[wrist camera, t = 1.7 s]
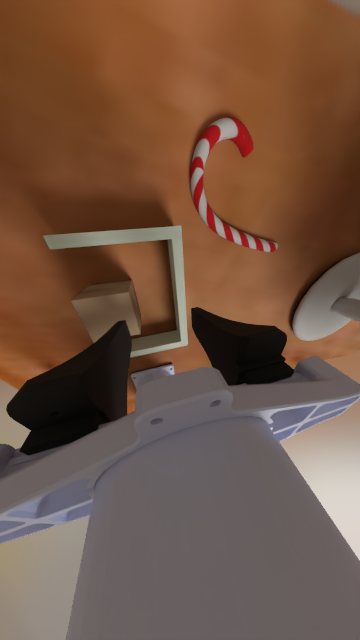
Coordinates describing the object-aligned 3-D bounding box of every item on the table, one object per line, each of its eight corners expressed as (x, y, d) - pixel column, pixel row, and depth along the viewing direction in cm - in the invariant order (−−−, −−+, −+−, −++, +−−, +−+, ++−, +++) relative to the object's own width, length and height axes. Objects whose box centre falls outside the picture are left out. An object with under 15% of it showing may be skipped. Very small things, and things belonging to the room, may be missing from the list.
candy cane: (261, 271, 19) (175, 193, 13) (255, 269, 21) (173, 197, 14) (305, 215, 17) (224, 83, 10) (295, 217, 18) (216, 98, 11)
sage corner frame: (183, 333, 23) (187, 345, 20) (112, 347, 21) (108, 362, 19) (174, 228, 15) (181, 225, 13) (61, 236, 13) (42, 235, 11)
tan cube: (141, 314, 19) (140, 334, 15) (104, 320, 19) (93, 343, 14) (132, 279, 17) (128, 292, 13) (89, 285, 16) (70, 300, 12)
